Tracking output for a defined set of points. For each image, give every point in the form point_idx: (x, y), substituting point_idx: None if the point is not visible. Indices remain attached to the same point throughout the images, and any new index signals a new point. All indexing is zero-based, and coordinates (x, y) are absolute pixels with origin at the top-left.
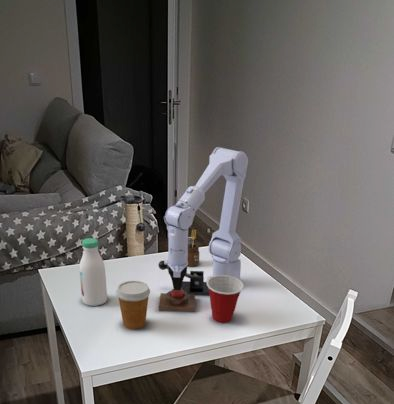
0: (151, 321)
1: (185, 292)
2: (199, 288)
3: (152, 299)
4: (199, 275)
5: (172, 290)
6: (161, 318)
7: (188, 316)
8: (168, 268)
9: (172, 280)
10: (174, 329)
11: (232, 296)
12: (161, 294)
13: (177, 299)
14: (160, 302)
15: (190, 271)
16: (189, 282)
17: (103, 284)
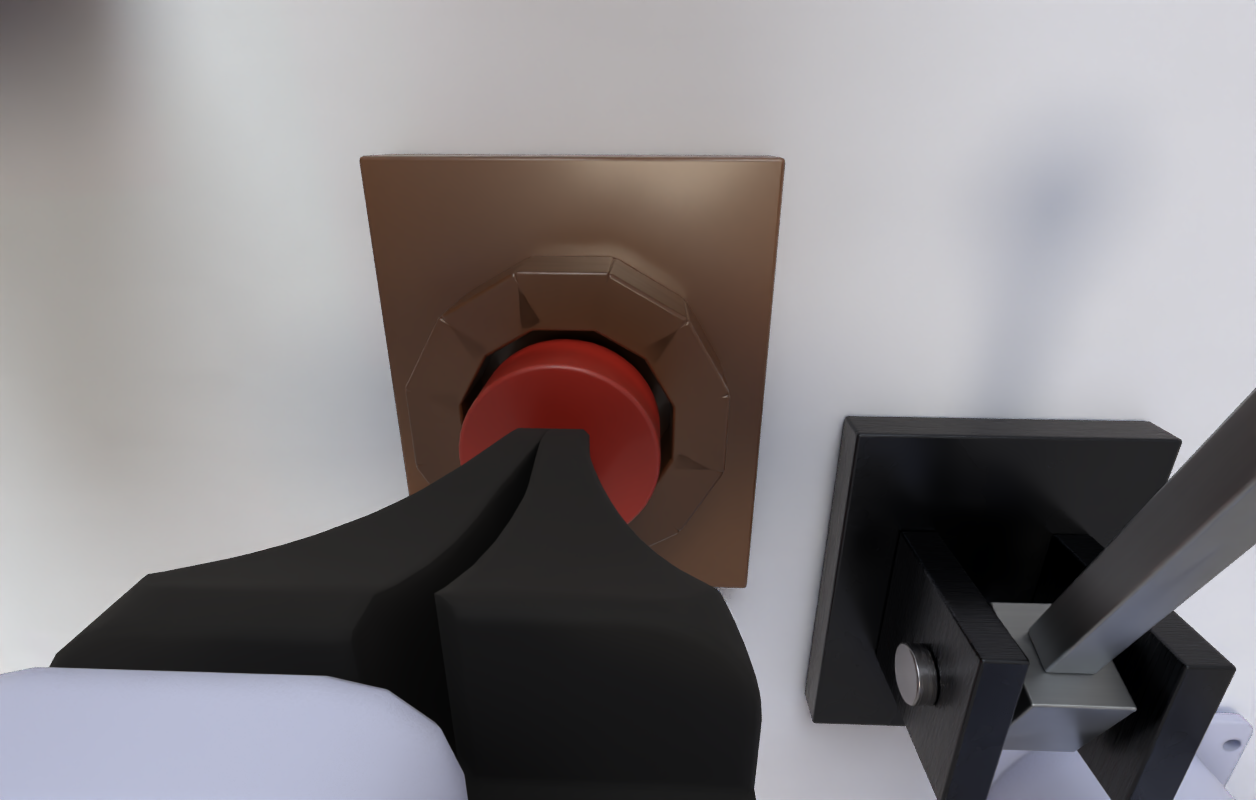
0: (104, 73)
1: (652, 531)
2: (888, 639)
3: (723, 30)
4: (1082, 739)
5: (572, 388)
6: (218, 202)
7: (343, 489)
8: (279, 640)
9: (401, 509)
10: (34, 359)
11: None
12: (737, 174)
13: (426, 436)
14: (476, 175)
15: (1209, 668)
16: (1118, 529)
17: None
